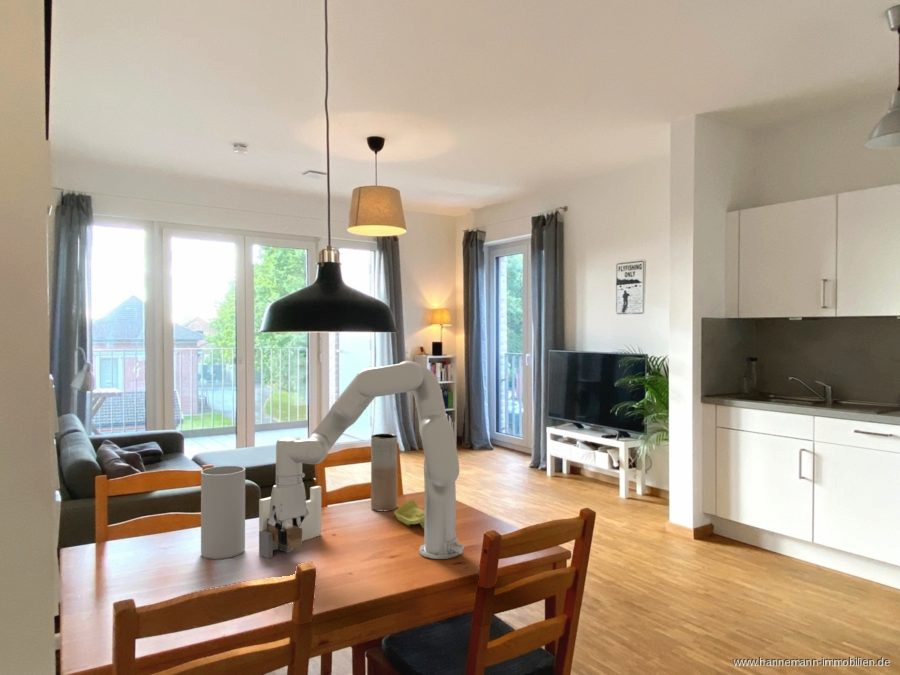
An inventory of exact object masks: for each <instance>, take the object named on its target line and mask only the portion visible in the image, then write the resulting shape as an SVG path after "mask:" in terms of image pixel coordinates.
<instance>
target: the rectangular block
mask: <svg viewBox="0 0 900 675" xmlns="http://www.w3.org/2000/svg"><path fill="white" fill-rule="evenodd" d="M268 520H269V518H268V519H267V532H270V533H272V534H273V541H275V542H277V543H279V541H278V530H277V529H276V528H275V527H274V526H272V525H270V524H268ZM275 522H277V518H276V519H275ZM285 531H286V532H287V543H286V545H284V546H286V547H289V548H291V550H292V549H295V548H298V547H302V546H303V541H302V528H299V527H297V526H294V525H292V524H289V523H287V522H286V526H285ZM282 545H283V544H282Z"/></svg>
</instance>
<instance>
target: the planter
mask: <svg viewBox="0 0 900 675" xmlns="http://www.w3.org/2000/svg"><path fill="white" fill-rule="evenodd" d="M370 445H371V446H370V449H371V450H370V455H371V456H370V460H371V461H370V473H371V474H370V475H371V476H370V479H371V480H370V486H371V487H370V505H371V506H370V507H371V509H372V510H373V509H375V510H383V511H382V512H385V511H384V510H391V511H394V510H396V509H398V436H397V434H393V433H376V434H372V435H371V438H370ZM395 508H396V509H395ZM393 509H394V510H393ZM375 510H374V511H375Z"/></svg>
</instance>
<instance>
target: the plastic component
mask: <svg viewBox="0 0 900 675" xmlns="http://www.w3.org/2000/svg"><path fill="white" fill-rule="evenodd" d="M393 513H394V515H395V518H396V519H397V520H398V521H399V522H401V523H403V524H405V525H407V526H411V525H417V524H420V526H421V528H422V529H423V528H424V509H421V508H420V507H419V506H418V504H417V503H416V502H415V500H414V499H409V500H408V501H406V502H405V503H404V504H402V505H401V506H399V507H397V508H396V509H394V512H393Z"/></svg>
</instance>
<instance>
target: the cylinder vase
mask: <svg viewBox="0 0 900 675" xmlns="http://www.w3.org/2000/svg"><path fill="white" fill-rule="evenodd" d="M245 549H246V467H244V466H240V465H219V466H213V467H209V468H205V469H203V470H201V472H200V554H201V556H202V557H204V558H205V559H209V560H224V559H229V558H233V557H237V556H239V555H241V554H242V553H243V552H244V551H245Z"/></svg>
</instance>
